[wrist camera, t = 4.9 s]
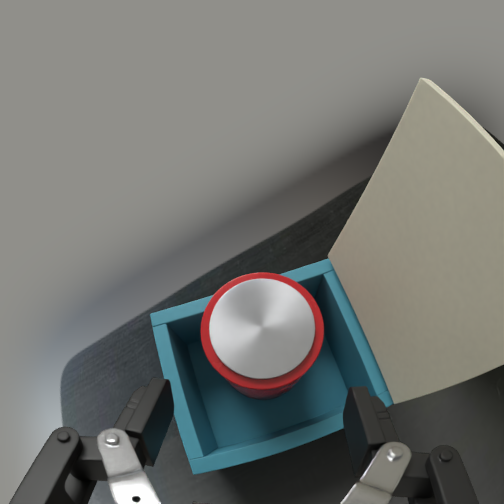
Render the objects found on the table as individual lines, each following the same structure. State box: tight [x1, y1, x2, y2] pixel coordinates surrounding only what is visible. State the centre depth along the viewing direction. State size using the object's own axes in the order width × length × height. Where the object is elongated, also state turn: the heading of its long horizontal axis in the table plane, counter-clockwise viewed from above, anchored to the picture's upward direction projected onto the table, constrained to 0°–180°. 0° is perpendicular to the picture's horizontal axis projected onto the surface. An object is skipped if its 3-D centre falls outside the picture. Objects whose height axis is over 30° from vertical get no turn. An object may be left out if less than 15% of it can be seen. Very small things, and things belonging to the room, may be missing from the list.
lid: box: [328, 78, 504, 404], centre depth 13 cm, size 14×11×1 cm
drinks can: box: [200, 273, 324, 400], centre depth 19 cm, size 6×6×10 cm
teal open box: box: [150, 259, 394, 475], centre depth 21 cm, size 13×11×7 cm
